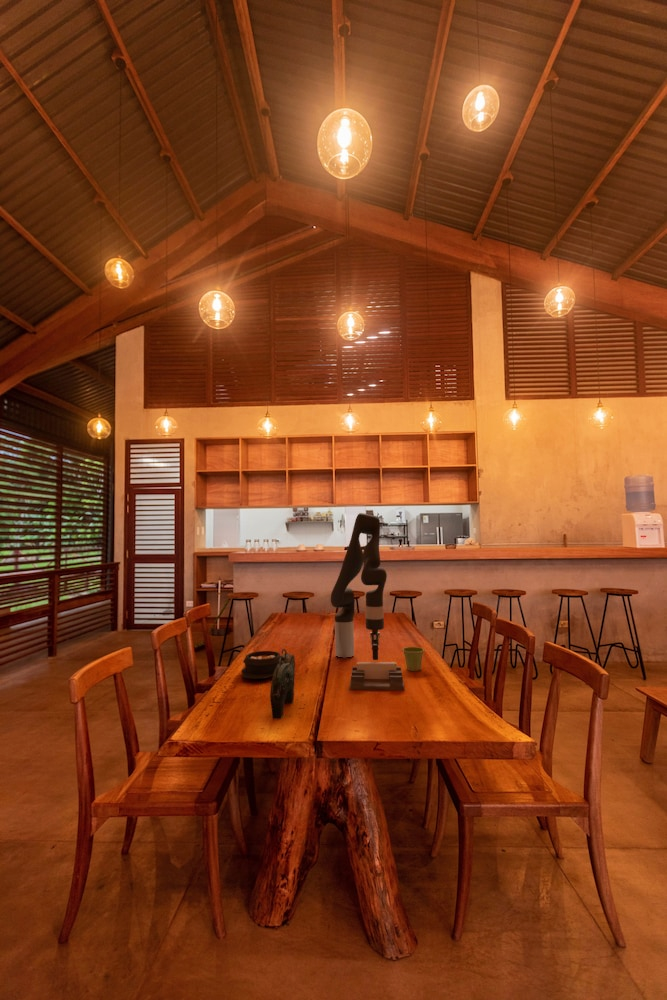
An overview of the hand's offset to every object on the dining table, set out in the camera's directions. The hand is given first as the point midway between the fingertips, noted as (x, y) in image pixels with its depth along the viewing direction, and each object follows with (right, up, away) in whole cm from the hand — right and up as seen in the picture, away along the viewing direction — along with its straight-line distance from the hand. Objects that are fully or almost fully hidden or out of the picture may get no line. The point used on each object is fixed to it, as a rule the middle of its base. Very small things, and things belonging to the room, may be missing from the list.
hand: (375, 656), depth 194 cm
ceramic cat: (-34, -9, -28) cm, 46 cm away
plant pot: (+18, -11, +15) cm, 26 cm away
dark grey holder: (0, -10, -4) cm, 10 cm away
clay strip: (+1, -8, -1) cm, 8 cm away
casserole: (-48, -12, +13) cm, 51 cm away
